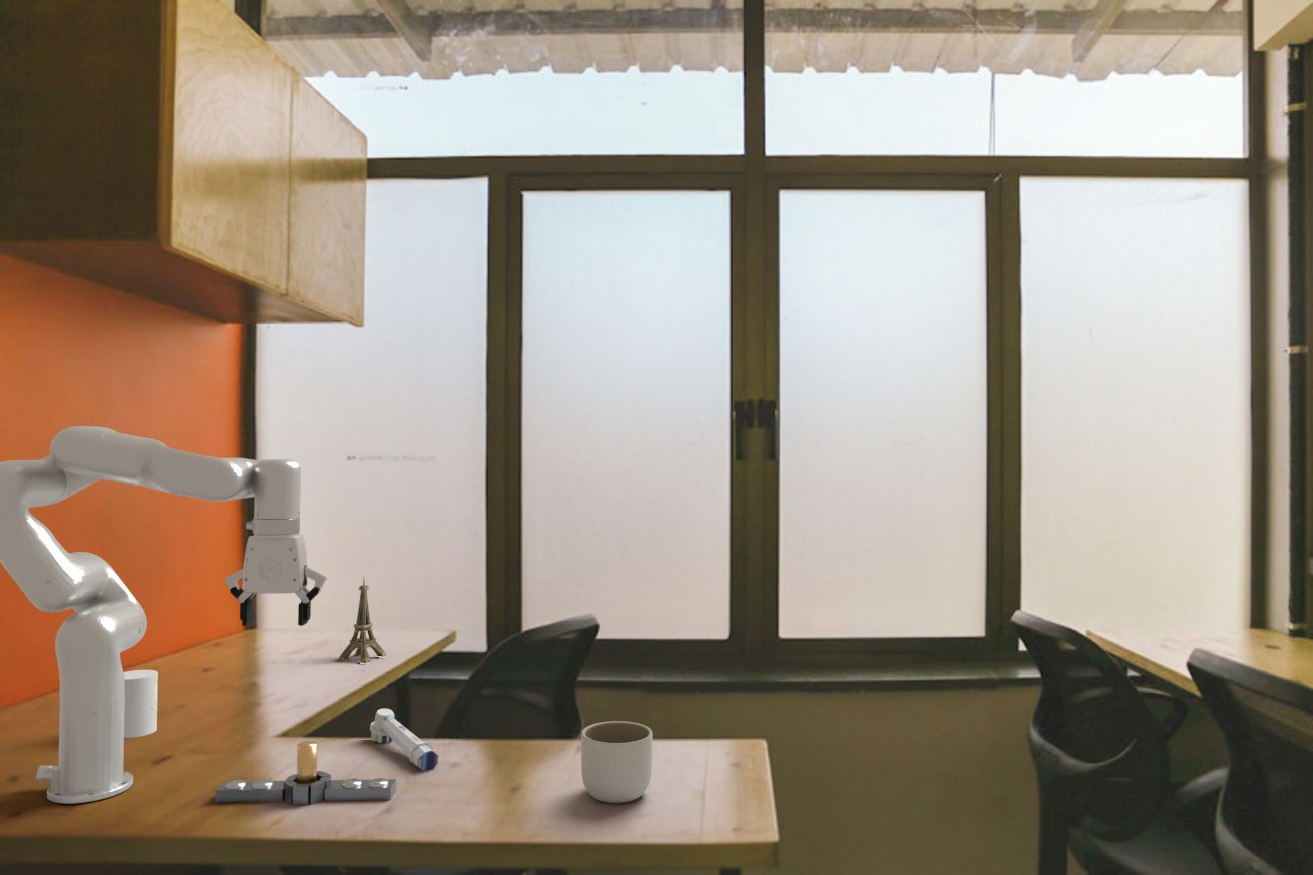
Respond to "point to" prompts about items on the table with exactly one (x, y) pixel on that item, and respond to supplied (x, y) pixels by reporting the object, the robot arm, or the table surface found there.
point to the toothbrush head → (402, 739)
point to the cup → (140, 703)
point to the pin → (306, 762)
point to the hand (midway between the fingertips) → (275, 624)
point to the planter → (616, 760)
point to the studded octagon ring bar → (306, 790)
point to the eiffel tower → (362, 633)
